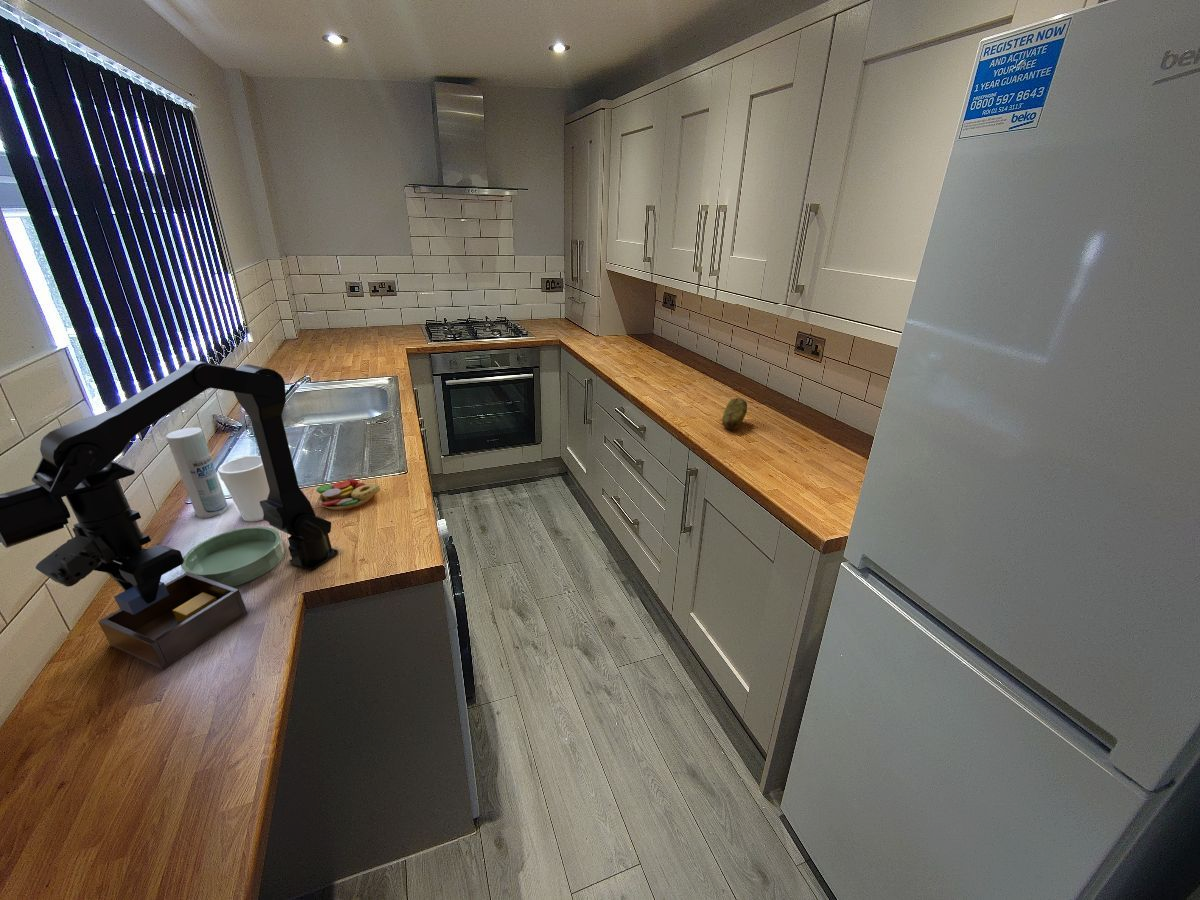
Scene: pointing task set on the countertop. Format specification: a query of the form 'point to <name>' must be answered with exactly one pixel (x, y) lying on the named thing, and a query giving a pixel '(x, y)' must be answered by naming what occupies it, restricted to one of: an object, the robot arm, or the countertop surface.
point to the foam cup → (246, 485)
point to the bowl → (235, 555)
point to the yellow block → (193, 606)
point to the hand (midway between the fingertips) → (143, 598)
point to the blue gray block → (137, 599)
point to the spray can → (197, 471)
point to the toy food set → (346, 494)
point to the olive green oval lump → (734, 413)
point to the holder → (173, 621)
